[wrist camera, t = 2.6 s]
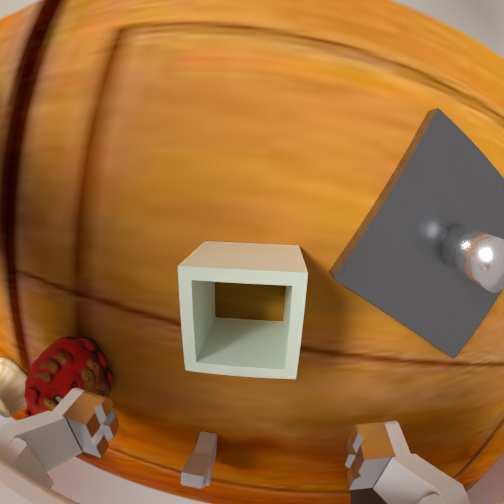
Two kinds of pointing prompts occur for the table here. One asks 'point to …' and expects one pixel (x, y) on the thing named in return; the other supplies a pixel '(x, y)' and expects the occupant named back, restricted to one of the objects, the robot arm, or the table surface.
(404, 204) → the plate
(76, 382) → the red clay folk toy
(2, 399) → the hand bell
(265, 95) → the table surface
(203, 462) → the lighter
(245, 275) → the sleeve
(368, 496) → the coffee cup
